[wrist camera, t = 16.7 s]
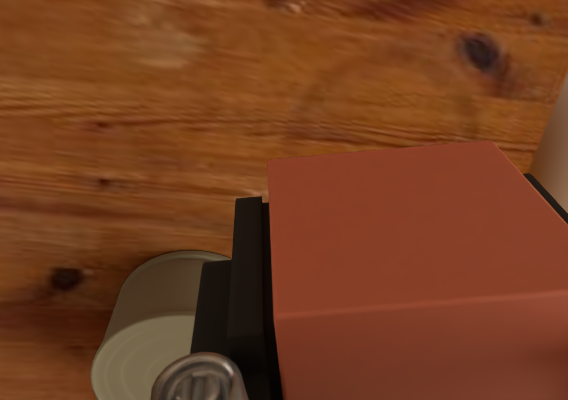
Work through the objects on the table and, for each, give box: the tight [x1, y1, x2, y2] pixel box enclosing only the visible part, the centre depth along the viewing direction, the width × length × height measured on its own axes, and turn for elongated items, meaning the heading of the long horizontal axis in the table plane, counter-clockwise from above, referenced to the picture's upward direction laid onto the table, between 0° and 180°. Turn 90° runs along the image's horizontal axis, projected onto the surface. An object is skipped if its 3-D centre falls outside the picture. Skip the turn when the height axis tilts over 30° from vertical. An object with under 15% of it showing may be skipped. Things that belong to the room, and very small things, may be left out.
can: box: [91, 250, 231, 400], centre depth 38 cm, size 12×12×7 cm
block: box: [268, 140, 568, 400], centre depth 10 cm, size 4×4×4 cm
